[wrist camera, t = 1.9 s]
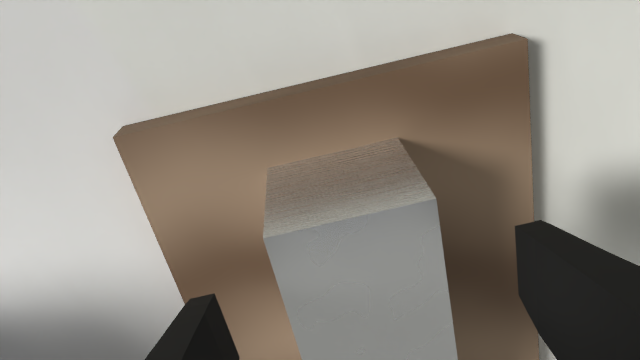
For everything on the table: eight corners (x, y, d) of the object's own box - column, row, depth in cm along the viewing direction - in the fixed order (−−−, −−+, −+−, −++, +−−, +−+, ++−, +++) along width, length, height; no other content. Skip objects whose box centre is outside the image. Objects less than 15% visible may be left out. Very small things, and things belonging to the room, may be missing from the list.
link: (267, 168, 15) (262, 238, 11) (397, 137, 15) (436, 198, 11) (340, 415, 19) (353, 521, 16) (439, 393, 19) (476, 495, 16)
